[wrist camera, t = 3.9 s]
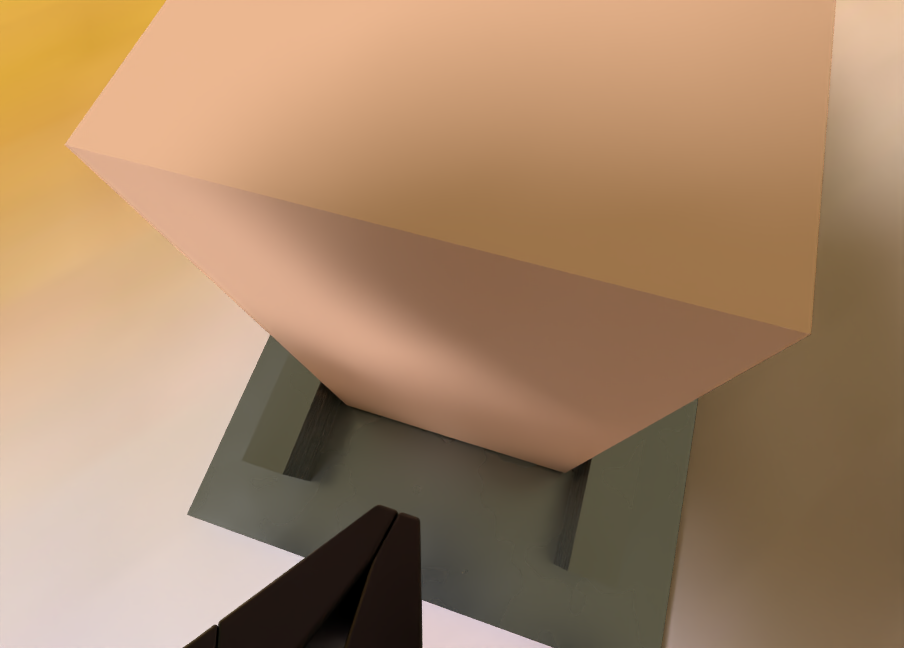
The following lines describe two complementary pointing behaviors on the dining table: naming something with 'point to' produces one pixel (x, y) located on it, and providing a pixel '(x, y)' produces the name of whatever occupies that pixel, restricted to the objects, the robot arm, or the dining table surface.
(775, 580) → the dining table surface
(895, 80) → the dining table surface
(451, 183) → the block
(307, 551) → the grey railed base plate
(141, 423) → the dining table surface
